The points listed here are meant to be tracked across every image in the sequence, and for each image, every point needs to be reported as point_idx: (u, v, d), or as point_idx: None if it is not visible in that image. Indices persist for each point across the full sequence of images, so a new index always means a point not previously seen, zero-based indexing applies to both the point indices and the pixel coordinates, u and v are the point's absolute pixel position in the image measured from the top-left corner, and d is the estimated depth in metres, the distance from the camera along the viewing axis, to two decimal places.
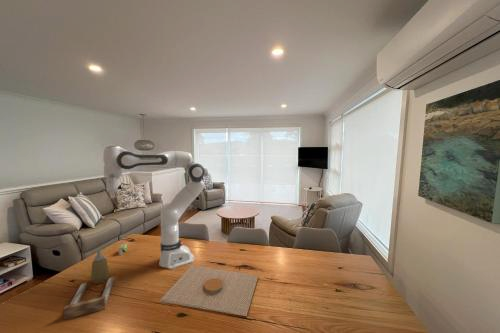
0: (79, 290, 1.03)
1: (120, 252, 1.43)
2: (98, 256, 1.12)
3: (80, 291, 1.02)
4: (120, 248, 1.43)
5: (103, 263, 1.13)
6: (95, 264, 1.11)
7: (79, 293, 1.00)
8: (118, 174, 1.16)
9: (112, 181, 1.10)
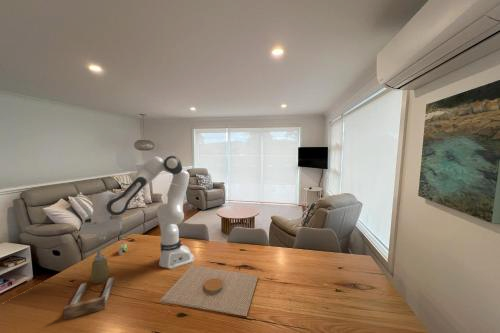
0: (79, 290, 1.03)
1: (120, 252, 1.43)
2: (98, 256, 1.12)
3: (80, 291, 1.02)
4: (120, 248, 1.43)
5: (103, 263, 1.13)
6: (95, 264, 1.11)
7: (79, 293, 1.00)
8: None
9: None
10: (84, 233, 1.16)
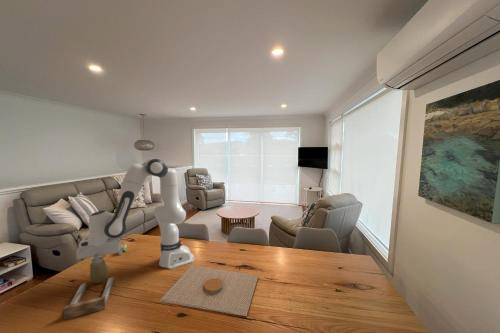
0: (79, 290, 1.03)
1: (120, 252, 1.43)
2: (96, 260, 1.09)
3: (80, 291, 1.02)
4: None
5: (101, 266, 1.10)
6: (93, 268, 1.08)
7: (79, 293, 1.00)
8: None
9: None
10: (81, 257, 1.10)
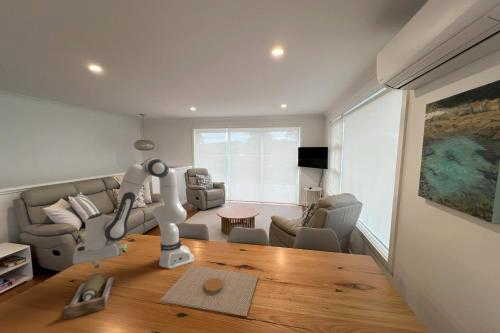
0: (79, 290, 1.03)
1: (120, 252, 1.43)
2: None
3: (80, 291, 1.02)
4: (120, 248, 1.42)
5: (96, 294, 1.02)
6: None
7: (79, 293, 1.00)
8: None
9: None
10: (77, 262, 1.05)
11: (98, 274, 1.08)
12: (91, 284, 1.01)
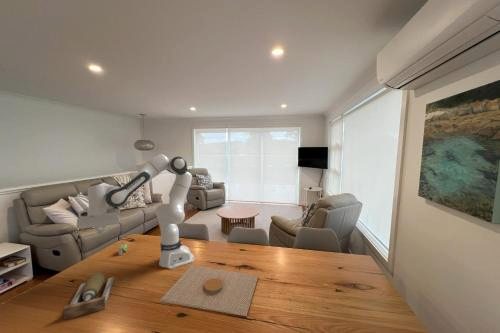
0: (79, 290, 1.03)
1: (120, 252, 1.42)
2: None
3: (80, 291, 1.02)
4: (120, 248, 1.42)
5: (96, 294, 1.02)
6: None
7: (79, 293, 1.00)
8: None
9: None
10: (81, 227, 1.11)
11: (98, 274, 1.08)
12: (92, 284, 1.01)
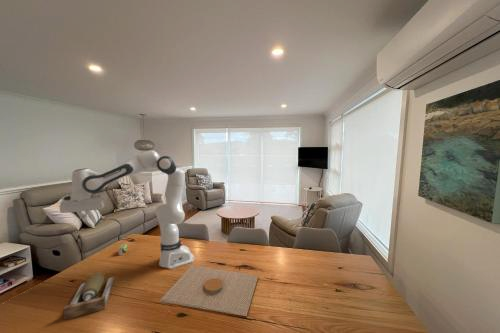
0: (79, 290, 1.03)
1: (120, 252, 1.42)
2: None
3: (80, 291, 1.02)
4: (120, 248, 1.42)
5: (96, 294, 1.02)
6: None
7: (79, 293, 1.00)
8: None
9: None
10: (64, 211, 1.14)
11: (98, 274, 1.08)
12: (92, 284, 1.01)
